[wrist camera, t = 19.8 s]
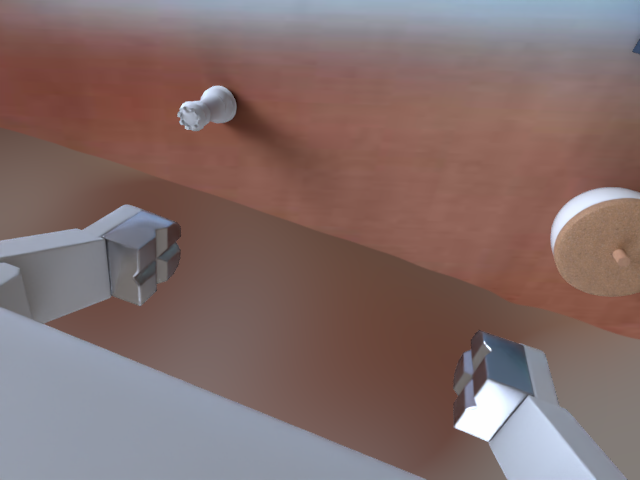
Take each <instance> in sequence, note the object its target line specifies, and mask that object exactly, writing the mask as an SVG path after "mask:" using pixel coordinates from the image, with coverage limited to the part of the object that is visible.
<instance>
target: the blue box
mask: <svg viewBox="0 0 640 480" xmlns="http://www.w3.org/2000/svg"><path fill="white" fill-rule="evenodd" d="M632 52H634V53H638V54H640V39H639V41H638V43H637V44H636V46H635V48H634V49H633V51H632Z"/></svg>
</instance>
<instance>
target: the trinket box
mask: <svg viewBox="0 0 640 480" xmlns="http://www.w3.org/2000/svg"><path fill="white" fill-rule="evenodd" d="M551 247H552V252H553V255H554V260H555V264H556V266H557V269H558V271H559V273H560V274H561V276H562V277H563V278H564V279H565V280H566V281H567V282H568V283H569V284H570V285H572V286H573V287H575V288H577V289H579V290H581V291H583V292H586V293H589V294H593V295H599V296H609V297H612V296H624V295H631V294H635V293H638V292H640V192H637V191H634V190H631V189H627V188H620V187H604V188H597V189H593V190H589V191H587V192H584V193H582V194H580V195H578V196H576V197H574V198H573V199H571V200H570V201H569V202H568V203H566V204H565V205H564V206H563V207H562V209H561V210H560V211H559V213H558V214H557V216H556V218H555V219H554V222H553V225H552V229H551Z"/></svg>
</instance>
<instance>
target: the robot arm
mask: <svg viewBox="0 0 640 480" xmlns="http://www.w3.org/2000/svg"><path fill="white" fill-rule="evenodd" d="M180 237H181V226H180V225H179V224H178V223H177V222H175V221H172V220H169V219H167V218H164V217H161V216H159V215H156V214H154V213H151V212H148V211H144V210H143V209H140V208H137V207H134V206H131V205H123V206H122V207H120V208H118V209H117V210H115V211H114V212H112V213H110V214H108V215H107V216H105V217H103V218H102V219H100V220H98V221H97V222H95V223H93V224H92V225H90V226H88V227H87V228H85V229H83V230H79V229H72V230H64V231H59V232H53V233H46V234H40V235H33V236H28V237H21V238H15V239H9V240H2V241H0V480H426V479H424V478H421V477H419V476H416V475H414V474H411V473H409V472H407V471H404V470H402V469H399V468H397V467H394V466H392V465H389V464H387V463H384V462H382V461H379V460H377V459H375V458H372V457H370V456H367V455H364V454H362V453H360V452H357V451H355V450H352V449H350V448H347V447H345V446H343V445H340V444H338V443H335V442H333V441H330V440H328V439H325V438H323V437H320V436H318V435H316V434H313V433H310V432H308V431H306V430H303V429H301V428H298V427H296V426H293V425H291V424H288V423H286V422H283V421H281V420H279V419H276V418H274V417H271V416H269V415H266V414H264V413H261V412H259V411H256V410H254V409H252V408H249V407H247V406H244V405H242V404H239V403H237V402H234V401H232V400H229V399H226V398H224V397H222V396H220V395H217V394H214V393H212V392H210V391H207V390H205V389H202V388H200V387H197V386H195V385H192V384H190V383H188V382H185V381H182V380H180V379H178V378H175V377H173V376H170V375H168V374H165V373H163V372H160V371H158V370H156V369H153V368H150V367H148V366H146V365H143V364H141V363H138V362H136V361H133V360H131V359H128V358H126V357H123V356H121V355H119V354H116V353H114V352H111V351H109V350H106V349H104V348H101V347H99V346H96V345H94V344H91V343H89V342H87V341H84V340H82V339H79V338H77V337H74V336H72V335H69V334H67V333H64V332H62V331H59V330H57V329H55V328H52V327H50V326H47V325H45V324H44V323H46V322H49V321H51V320H54V319H57V318H59V317H62V316H64V315H67V314H69V313H72V312H74V311H77V310H80V309H82V308H85V307H87V306H90V305H92V304H95V303H98V302H100V301H103V300H106V299H108V298H110V297H111V296H114V297H117V298H119V299H122V300H125V301H128V302H131V303H134V304H136V305H139V306H141V305H142V304H143V303H144V302H145V301H146V300H148V299H149V298H150V297H151V296H152V295H153V294H154V293H155V292H156V291H157V284H158V283H161V282H165V281H167V280H168V279H169V278H170V277H171V276H172V275H173V274H174V272H175V270H176V268H177V267H178V264H179V260H180V251H181V250H180V248H179V246H178V245H177V243H176V241H177V240H178V239H179V238H180ZM453 388H454V390H455V392H456V393H457V395H458V397H457V399H456V401H455V402H454V428H457V429H459V430H462V431H464V432H467V433H469V434H471V435H474V436H476V437H478V438H481V439H483V440H486V441H488V442H489V445H490V447H491V449H492V451H493V453H494V455H495V457H496V459H497V461H498V463H499V465H500V467H501V468H502V470H503V472H504V474H505V476H506V478H507V480H627V479H626V477H625V476H624V475H623V474H622V473H621V472H620V471H619V469H618V468H617V467H616V466H615V465H614V463H613V462H612V461H611V460H610V459H609V458H608V457H607V455H606V454H605V453H604V452H603V451H602V450H601V448H600V447H599V446H598V445H597V444H596V443H595V441H594V440H593V439H592V438H591V437H590V436H589V435H588V434H587V432H586V431H585V430H584V429H583V428H582V426H580V424H579V423H578V422H577V421H576V420H575V418H574V417H573V416H572V415H571V414H570V413H569V412H568V410H567V409H565V408H562V407H560V406H559V402H558V398H557V395H556V391H555V388H554V384H553V381H552V377H551V373H550V370H549V366H548V362H547V359H546V355H545V354H544V352H543V351H541V350H539V349H536V348H532V347H529V346H526V345H523V344H518V343H516V342H513V341H509V340H507V339H504V338H501V337H498V336H495V335H492V334H490V333H487V332H484V331H481V330H479V331H478V332H476V333H475V335H474V336H473V338H472V339H471V350H469V351H466V352H464V353H463V354H462V356H461V358H460V359H459V361H458V364H457V367H456V370H455V374H454V385H453Z"/></svg>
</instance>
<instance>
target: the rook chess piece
mask: <svg viewBox="0 0 640 480" xmlns="http://www.w3.org/2000/svg"><path fill="white" fill-rule="evenodd" d="M236 108H237V106H236V101H235V98H234V97H233V95H232V93H231V92H230V91H229V90H228V89H226V88H224V87H222V86H213V87H211V88H209V89H208V90H206V91H205V92H204V93H203V95H202V97H201V100H200V101H194V102H185V103H184V104H182V106H181V108H180V112H178V117H180V118H181V121H179V122H180V124H181V125H183V124H184V125H185V129H188V130H192V131H199V130H201V129H203V127H204V126H205V125H206V124H208V123H209V121H212V122H215V123H225V122H228V121H230V120H231V119H233V117H234V116H235V114H236Z"/></svg>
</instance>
